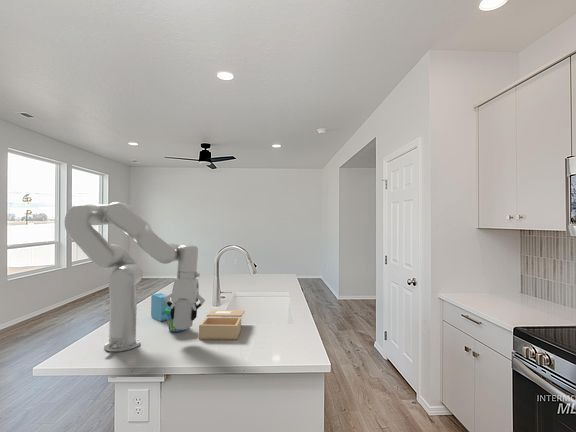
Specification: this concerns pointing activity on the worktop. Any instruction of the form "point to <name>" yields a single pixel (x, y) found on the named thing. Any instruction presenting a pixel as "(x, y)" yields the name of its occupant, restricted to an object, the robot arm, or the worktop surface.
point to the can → (182, 314)
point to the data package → (158, 307)
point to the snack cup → (171, 322)
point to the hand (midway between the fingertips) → (183, 318)
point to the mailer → (220, 328)
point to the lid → (226, 313)
